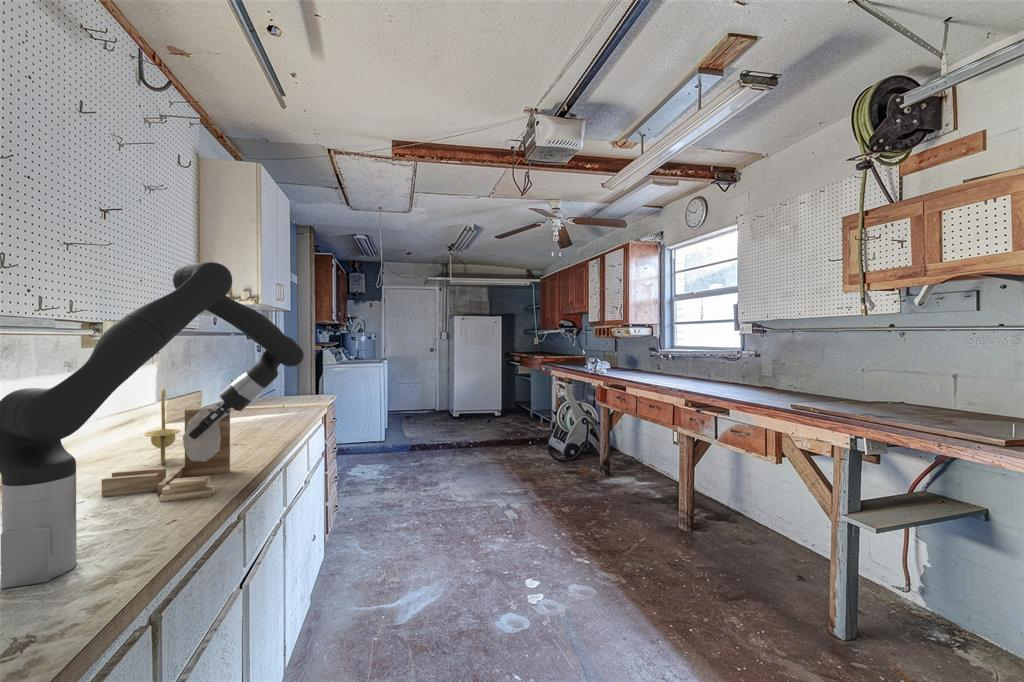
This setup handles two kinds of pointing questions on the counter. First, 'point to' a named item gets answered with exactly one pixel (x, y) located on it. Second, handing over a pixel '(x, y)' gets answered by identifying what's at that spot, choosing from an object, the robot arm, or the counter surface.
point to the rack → (213, 465)
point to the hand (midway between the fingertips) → (193, 435)
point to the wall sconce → (162, 432)
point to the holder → (133, 481)
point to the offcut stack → (187, 488)
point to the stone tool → (201, 439)
